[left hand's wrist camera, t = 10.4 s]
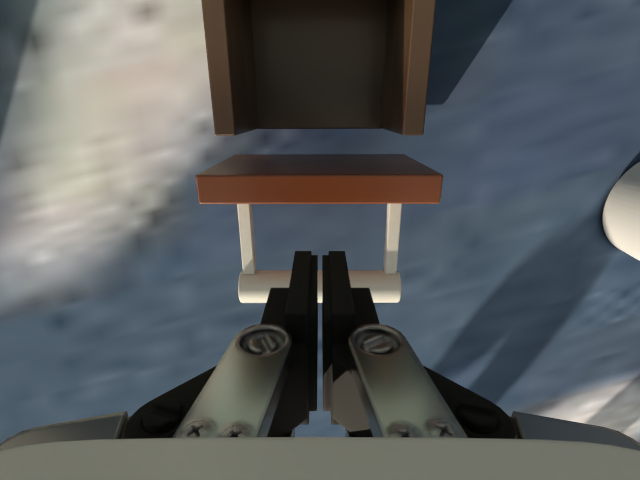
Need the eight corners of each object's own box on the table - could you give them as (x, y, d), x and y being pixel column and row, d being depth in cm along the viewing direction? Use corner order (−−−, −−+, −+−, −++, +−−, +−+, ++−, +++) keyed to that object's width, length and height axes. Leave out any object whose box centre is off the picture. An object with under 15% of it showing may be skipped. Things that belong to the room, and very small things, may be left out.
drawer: (395, 270, 23) (425, 332, 16) (244, 270, 23) (214, 333, 16) (436, -251, 15) (528, -534, 8) (200, -251, 15) (106, -533, 8)
